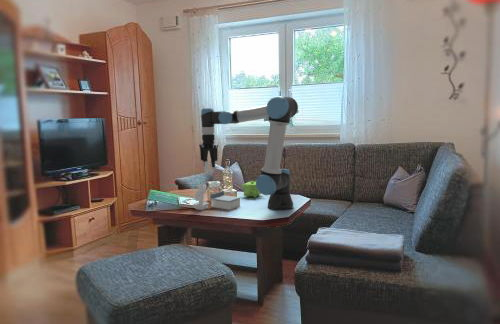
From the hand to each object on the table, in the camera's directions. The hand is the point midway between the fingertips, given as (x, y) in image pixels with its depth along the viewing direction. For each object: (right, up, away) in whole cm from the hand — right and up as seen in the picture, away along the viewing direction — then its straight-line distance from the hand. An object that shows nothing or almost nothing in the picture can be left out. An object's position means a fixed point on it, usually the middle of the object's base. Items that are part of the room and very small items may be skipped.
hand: (209, 172), depth 224 cm
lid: (+10, -16, -5) cm, 19 cm away
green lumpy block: (+27, -17, +25) cm, 41 cm away
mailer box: (+10, -21, -4) cm, 24 cm away
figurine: (-4, -22, -8) cm, 24 cm away
